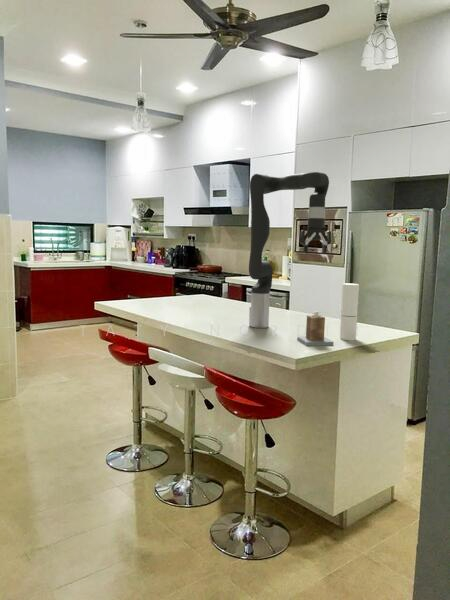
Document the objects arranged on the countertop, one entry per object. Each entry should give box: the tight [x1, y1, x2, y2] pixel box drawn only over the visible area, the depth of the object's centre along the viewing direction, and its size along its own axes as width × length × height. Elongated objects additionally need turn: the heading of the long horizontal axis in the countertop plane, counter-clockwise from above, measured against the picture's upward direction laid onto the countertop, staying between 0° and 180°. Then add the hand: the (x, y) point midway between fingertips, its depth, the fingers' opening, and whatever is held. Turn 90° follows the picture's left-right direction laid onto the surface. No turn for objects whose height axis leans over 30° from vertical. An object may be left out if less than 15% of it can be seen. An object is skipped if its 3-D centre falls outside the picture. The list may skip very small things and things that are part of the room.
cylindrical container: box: [339, 282, 360, 341], centre depth 220 cm, size 7×7×25 cm
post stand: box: [296, 311, 335, 347], centre depth 212 cm, size 12×12×14 cm
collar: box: [305, 314, 326, 341], centre depth 212 cm, size 6×6×10 cm
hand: (314, 253), depth 222 cm, fingers open, 8 cm apart
